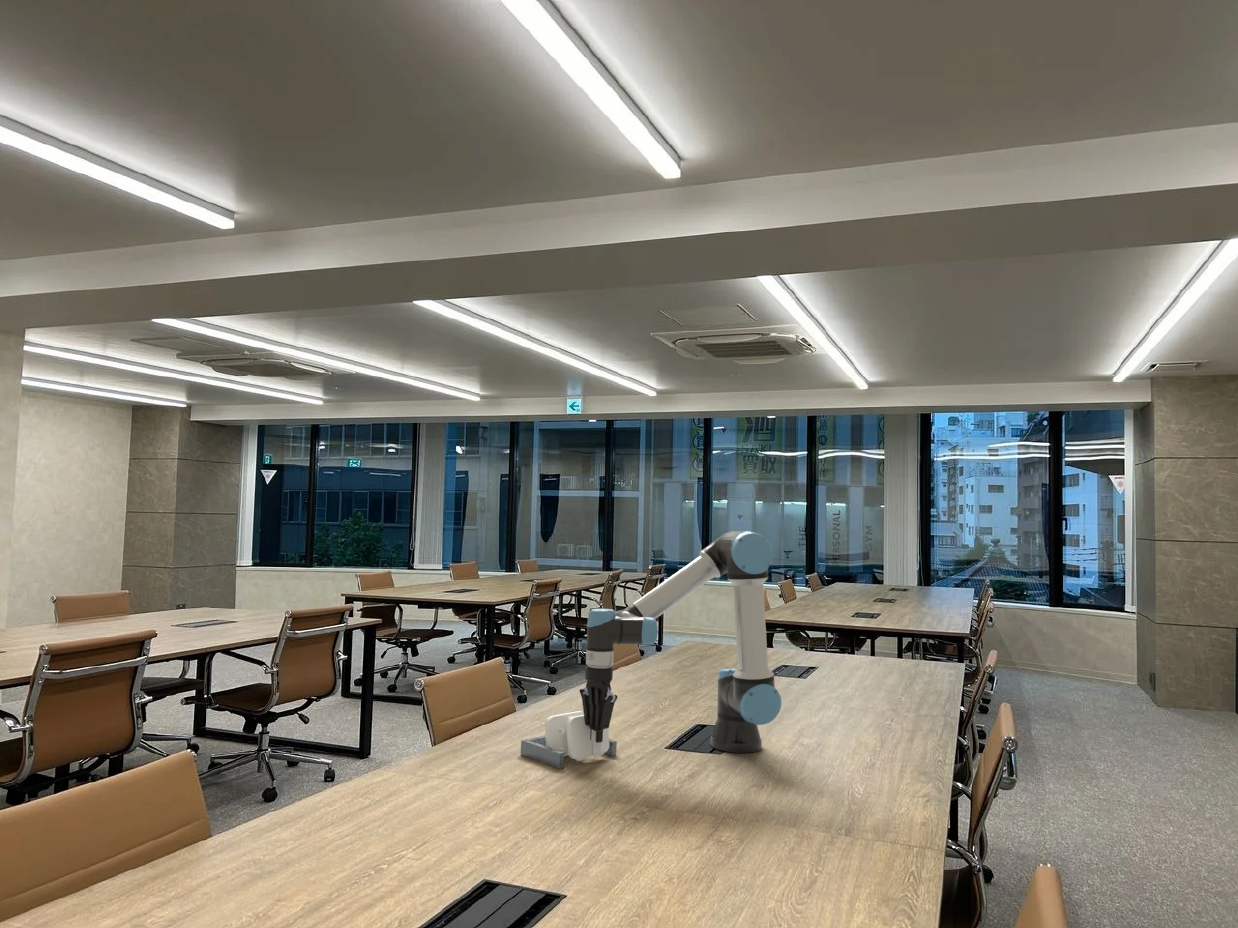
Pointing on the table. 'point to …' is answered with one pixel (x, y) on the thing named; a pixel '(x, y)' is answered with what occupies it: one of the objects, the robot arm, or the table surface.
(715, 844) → the table surface
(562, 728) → the cable organizer
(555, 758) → the bracket
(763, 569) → the robot arm
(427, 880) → the table surface
